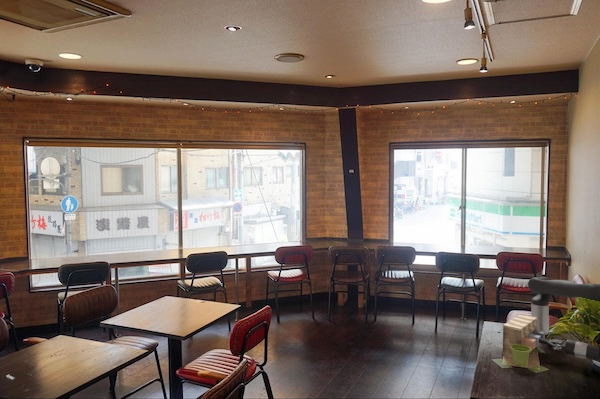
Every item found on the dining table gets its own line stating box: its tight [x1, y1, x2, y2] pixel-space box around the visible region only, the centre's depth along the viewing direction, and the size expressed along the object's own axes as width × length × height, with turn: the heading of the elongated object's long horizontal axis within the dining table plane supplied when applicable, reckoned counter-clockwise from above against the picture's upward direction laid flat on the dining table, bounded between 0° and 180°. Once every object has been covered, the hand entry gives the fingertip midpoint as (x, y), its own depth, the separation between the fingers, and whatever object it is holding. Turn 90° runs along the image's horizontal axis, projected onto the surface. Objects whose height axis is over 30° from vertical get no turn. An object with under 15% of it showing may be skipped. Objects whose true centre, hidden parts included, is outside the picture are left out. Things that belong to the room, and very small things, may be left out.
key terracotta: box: [523, 337, 537, 350], centre depth 242 cm, size 4×6×4 cm, turn 47°
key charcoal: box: [532, 330, 546, 339], centre depth 253 cm, size 4×6×4 cm, turn 47°
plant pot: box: [510, 344, 532, 368], centre depth 234 cm, size 9×9×9 cm
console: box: [502, 313, 538, 359], centre depth 252 cm, size 25×9×16 cm, turn 137°
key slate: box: [528, 334, 541, 346], centre depth 247 cm, size 4×6×4 cm, turn 47°
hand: (539, 340), depth 245 cm, fingers closed
